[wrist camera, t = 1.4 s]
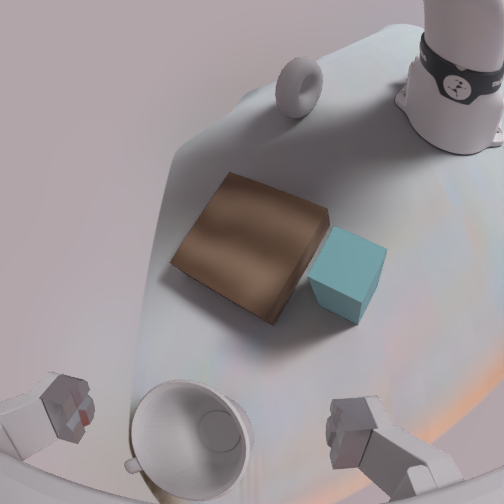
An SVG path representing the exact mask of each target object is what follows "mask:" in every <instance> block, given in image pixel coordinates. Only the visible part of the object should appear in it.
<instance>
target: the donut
mask: <svg viewBox="0 0 504 504" xmlns="http://www.w3.org/2000/svg"><path fill="white" fill-rule="evenodd" d="M322 85H323V75H322V71H321V68H320V66H319V65H318V64H317V62H316V61H314V60H313V59H310V58H308V57H298V58H295V59H293V60H292V61H290V62H289V63H287V65H286V66H285V67H284V69H282V71H281V73H280V75H279V77H278V81H277V84H276V92H275V96H276V102H277V105H278V107H279V109H280V111H281V112H282V113H283V114H285V115H286V116H287V117H290V118H301V117H303V116H305V115H307V114H308V113H309V112H310V111H311V110H312V109H313V108H314V106H315V105H316V103H317V101H318V99H319V97H320V94H321V91H322Z"/></svg>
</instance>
